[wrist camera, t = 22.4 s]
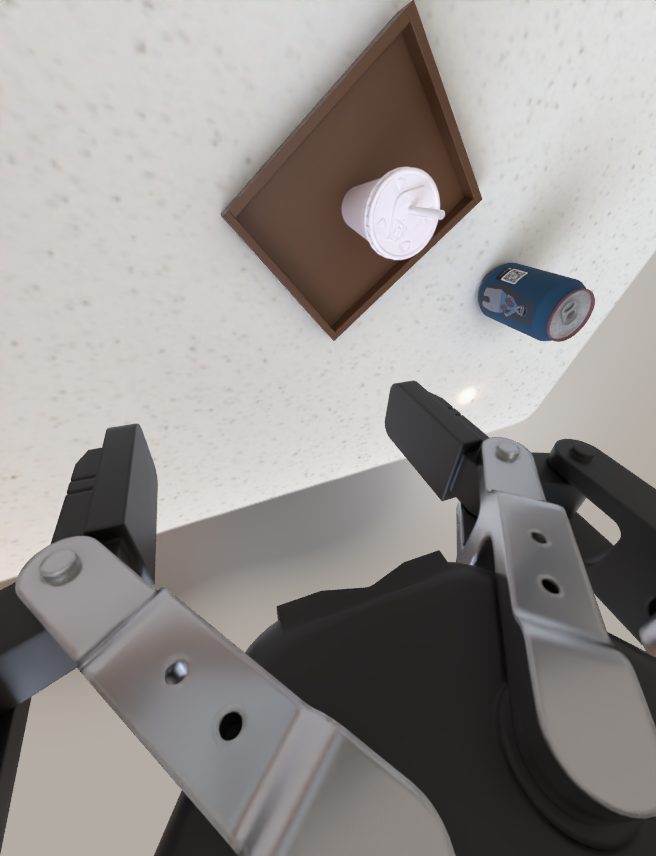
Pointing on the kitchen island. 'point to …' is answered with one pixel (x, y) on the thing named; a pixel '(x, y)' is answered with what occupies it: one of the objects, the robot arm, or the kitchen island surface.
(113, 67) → the kitchen island surface
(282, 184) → the tray
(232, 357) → the kitchen island surface
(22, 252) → the kitchen island surface
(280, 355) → the kitchen island surface
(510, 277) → the soda can
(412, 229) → the smoothie
